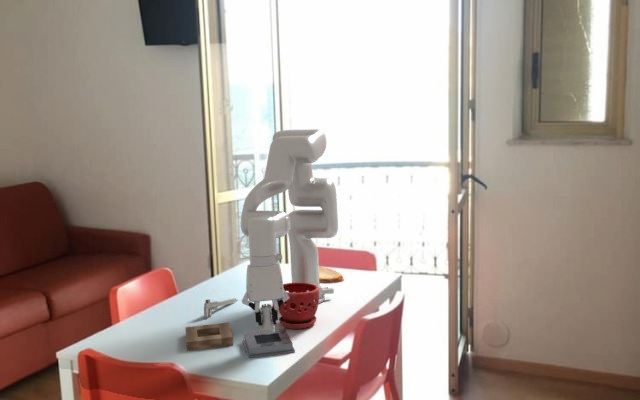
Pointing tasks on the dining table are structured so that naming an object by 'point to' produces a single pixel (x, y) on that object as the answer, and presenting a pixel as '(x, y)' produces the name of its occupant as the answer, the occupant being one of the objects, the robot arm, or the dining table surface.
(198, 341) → the socket block
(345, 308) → the dining table surface
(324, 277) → the golden brown flat disc
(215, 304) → the caliper
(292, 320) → the plant pot
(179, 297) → the dining table surface
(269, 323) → the rook chess piece
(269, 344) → the holder
